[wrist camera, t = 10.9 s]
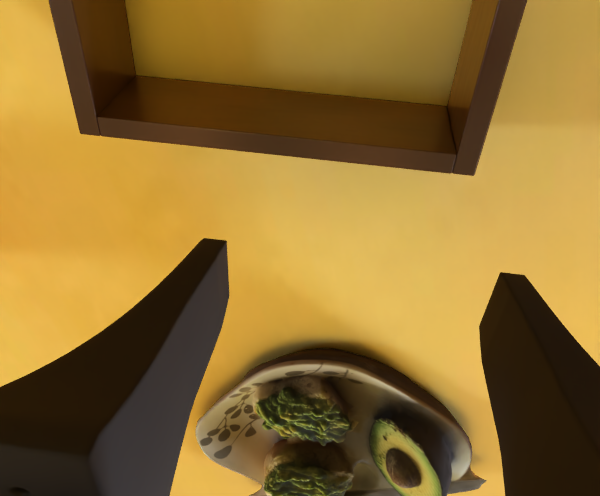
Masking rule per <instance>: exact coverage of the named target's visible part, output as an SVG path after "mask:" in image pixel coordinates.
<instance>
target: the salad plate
mask: <svg viewBox="0 0 600 496" xmlns="http://www.w3.org/2000/svg"><path fill="white" fill-rule="evenodd" d="M196 438H197V441H198V444H199V445H200V447H201V449H202V451H203V452H204V453H205V455H206V456H207V457H208V458H210V459H211V460H212V461H214V462H216V463H217V464H219V465H221V466H223V467H225V468H228V469H230V470H232V471H235V472H237V473H239V474H241V475H244V476H246V477H248V478H250V479H252V480H254V481H256V482H258V483H260V484H262V488H261V489H260V490H259V491H257V492H256V493H254V494H252V495H249V496H447V494H452V493H458V492H465V491H471V490H475V489H478V488H479V487H481V485H482V484H483V483H485V482H486V480H484V479H482V478H480V477H478V476H476V475H475V474H474V473H473V472H472V471H471V469H470V462H471V457H472V449H471V448H472V447H471V443H470V441H469V438H468V436H467V435H466V433H465V432H464V430H463V429H462V427H461V426H460V425H459V423H458V422H457V421H456V420H455V418H454V417H453V416H452V415H451V413H450V412H449V411H448V410H447V409H446V408H445V407H444V406H443V405H442V404H441V403H440V402H438V401H437V400H436V399H434V398H433V397H432V396H431V395H430V394H428V393H427V392H426V391H424V390H423V389H422V388H421V387H419V386H418V385H417V384H415V383H414V382H413V381H411V380H410V379H409V378H407V377H406V376H405V375H403V374H401V373H399V372H398V371H396V370H394V369H392V368H391V367H389V366H387V365H385V364H383V363H381V362H378V361H376V360H373V359H371V358H368V357H365V356H361V355H358V354H354V353H351V352H346V351H342V350H338V349H325V348H320V349H311V350H305V351H301V352H298V353H293V354H289V355H285V356H281V357H279V358H276V359H274V360H272V361H269V362H266V363H263V364H261V365H259V366H257V367H255V368H253V369H252V370H251V371H249V372H248V374H247V375H246V376H245V377H244V379H243V380H242V381H241V383H239V384H238V385H237V386H236V387H234V388H233V389H232V390H230V391H229V392H227V393H226V394H225V395H223V396H222V397H221V398H220V399H218V400H217V401H216V403H215V404H214V405H213V406H212V407H211V408H210V409H209V410H208V411H207V412H206V413H205V415H204V416H203V417H201V418H200V419H199V420H198V422H197V426H196Z"/></svg>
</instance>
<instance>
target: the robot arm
mask: <svg viewBox="0 0 600 496" xmlns="http://www.w3.org/2000/svg"><path fill="white" fill-rule="evenodd" d="M228 299H229V281H228V261H227V241H224V240H216V239H207V238H204V239H202V240H201V241H200V242H199V243H198V244H197V245H196V246H195V248H194V249H193V250H192V251H191V252H190V253H189V254H188V255H187V256H186V257H185V258H184V259H183V261H182V262H181V263H180V264H179V265H178V266H177V267H176V268H175V269H174V270H173V271H172V272H171V273H170V274H169V275H168V276H167V277H166V278H165V279H164V280H163V281H162V282H161V283H160V284H159V285H158V286H157V287H155V288H154V289H153V290H152V291H151V292H150V293H149V294H148V295H147V296H145V297H144V298H143V299H142V300H141V301H140V302H139V303H137V304H136V305H135V306H134V307H133V308H132V309H130V310H129V311H128V312H127V313H125V314H124V315H123V316H122V317H120V318H119V319H118V320H117V321H115V322H114V323H113V324H111V325H110V326H108V327H107V328H106V329H104V330H103V331H102V332H100V333H99V334H97V335H96V336H94V337H93V338H91V339H90V340H88V341H86V342H85V343H83V344H82V345H80V346H79V347H77V348H75V349H74V350H72V351H71V352H69V353H67V354H66V355H64V356H62V357H60V358H58V359H57V360H55V361H53V362H51V363H49V364H47V365H45V366H44V367H42V368H40V369H38V370H36V371H34V372H32V373H30V374H28V375H26V376H24V377H22V378H19V379H17V380H15V381H13V382H11V383H8V384H6V385H4V386H2V387H0V496H169V495H170V491H171V486H172V482H173V478H174V474H175V470H176V466H177V462H178V458H179V454H180V450H181V446H182V442H183V438H184V435H185V431H186V427H187V423H188V420H189V416H190V412H191V409H192V406H193V403H194V400H195V397H196V394H197V392H198V389H199V387H200V384H201V381H202V379H203V376H204V373H205V371H206V368H207V366H208V363H209V360H210V358H211V355H212V352H213V350H214V347H215V344H216V342H217V339H218V336H219V334H220V331H221V328H222V324H223V320H224V316H225V312H226V308H227V303H228ZM479 329H480V346H481V357H482V364H483V369H484V374H485V379H486V384H487V389H488V393H489V398H490V402H491V407H492V411H493V416H494V421H495V425H496V430H497V434H498V439H499V445H500V451H501V457H502V467H503V476H504V486H505V496H600V366H599V365H598V364H597V363H596V362H595V361H594V360H593V359H592V358H591V357H590V355H589V354H588V353H587V352H586V351H585V350H584V349H583V348H582V347H581V345H580V344H579V343H578V342H577V341H576V340H575V338H574V337H573V336H572V335H571V334H570V333H569V331H568V330H567V329H566V328H565V326H564V325H563V324H562V323H561V322H560V320H559V319H558V318H557V317H556V315H555V314H554V313H553V311H552V310H551V309H550V308H549V306H548V305H547V304H546V302H545V301H544V300H543V299H542V297H541V296H540V295H539V293H538V292H537V291H536V289H535V288H534V287H533V285H532V284H531V283H530V282H529V280H528V279H527V278H526V277H525V275H519V274H510V273H502V272H500V274H499V277H498V280H497V282H496V285H495V287H494V290H493V292H492V295H491V298H490V300H489V303H488V305H487V308H486V310H485V313H484V315H483V318H482V321H481V323H480V326H479Z"/></svg>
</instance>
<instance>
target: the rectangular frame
mask: <svg viewBox="0 0 600 496" xmlns="http://www.w3.org/2000/svg"><path fill="white" fill-rule="evenodd" d="M526 3H527V0H473V2H472V6H471V10H470V14H469V18H468V22H467V27H466V31H465V35H464V39H463V43H462V47H461V52H460V56H459V60H458V64H457V68H456V72H455V77H454V81H453V85H452V89H451V93H450V97H449V102H448V106H447V107H446V106H437V105H427V104H417V103H407V102H397V101H387V100H376V99H366V98H356V97H346V96H336V95H326V94H316V93H306V92H296V91H285V90H275V89H265V88H255V87H245V86H235V85H225V84H215V83H204V82H194V81H184V80H174V79H164V78H154V77H144V76H136V75H135V68H134V62H133V55H132V49H131V42H130V35H129V29H128V22H127V16H126V9H125V3H124V0H49V4H50V8H51V13H52V17H53V21H54V25H55V30H56V34H57V38H58V42H59V46H60V51H61V55H62V59H63V63H64V67H65V72H66V76H67V80H68V84H69V88H70V93H71V97H72V101H73V105H74V109H75V114H76V118H77V122H78V126H79V130H80V133H81V134H87V135H96V136H100V135H101V136H105V137H114V138H124V139H133V140H143V141H152V142H161V143H171V144H180V145H189V146H199V147H208V148H217V149H227V150H236V151H245V152H255V153H264V154H273V155H283V156H292V157H301V158H311V159H320V160H329V161H339V162H348V163H357V164H367V165H376V166H385V167H395V168H404V169H413V170H423V171H432V172H441V173H454V174H462V175H471V176H474V174H475V172H476V168H477V165H478V162H479V158H480V155H481V152H482V148H483V145H484V142H485V138H486V135H487V132H488V129H489V125H490V122H491V119H492V115H493V112H494V109H495V105H496V102H497V99H498V95H499V92H500V89H501V85H502V82H503V79H504V76H505V72H506V69H507V66H508V62H509V59H510V56H511V52H512V49H513V46H514V42H515V39H516V36H517V32H518V29H519V26H520V22H521V19H522V16H523V13H524V9H525V6H526Z"/></svg>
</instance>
